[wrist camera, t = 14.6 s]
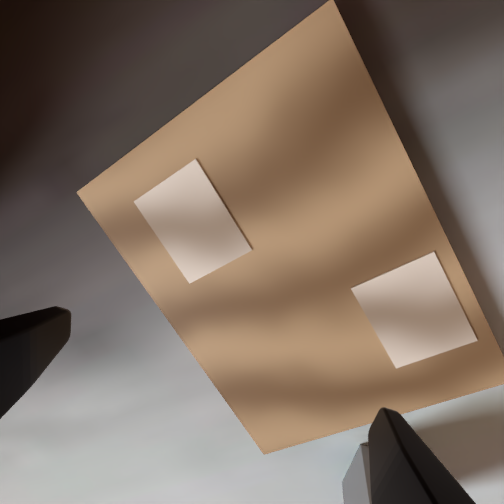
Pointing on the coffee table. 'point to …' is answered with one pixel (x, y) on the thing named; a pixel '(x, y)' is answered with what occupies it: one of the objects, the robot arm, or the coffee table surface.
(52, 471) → the coffee table surface
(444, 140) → the coffee table surface
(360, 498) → the slate post
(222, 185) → the label board
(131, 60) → the coffee table surface
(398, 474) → the robot arm
